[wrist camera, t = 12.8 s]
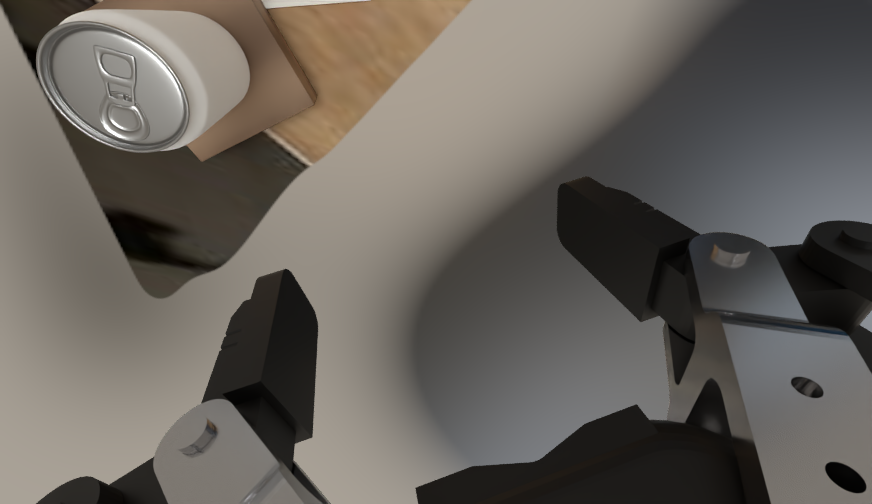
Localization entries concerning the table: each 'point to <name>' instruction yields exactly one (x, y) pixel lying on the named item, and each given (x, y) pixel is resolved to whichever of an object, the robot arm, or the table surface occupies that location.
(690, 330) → the robot arm
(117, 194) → the table surface
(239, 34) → the base block
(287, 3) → the page
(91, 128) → the can
